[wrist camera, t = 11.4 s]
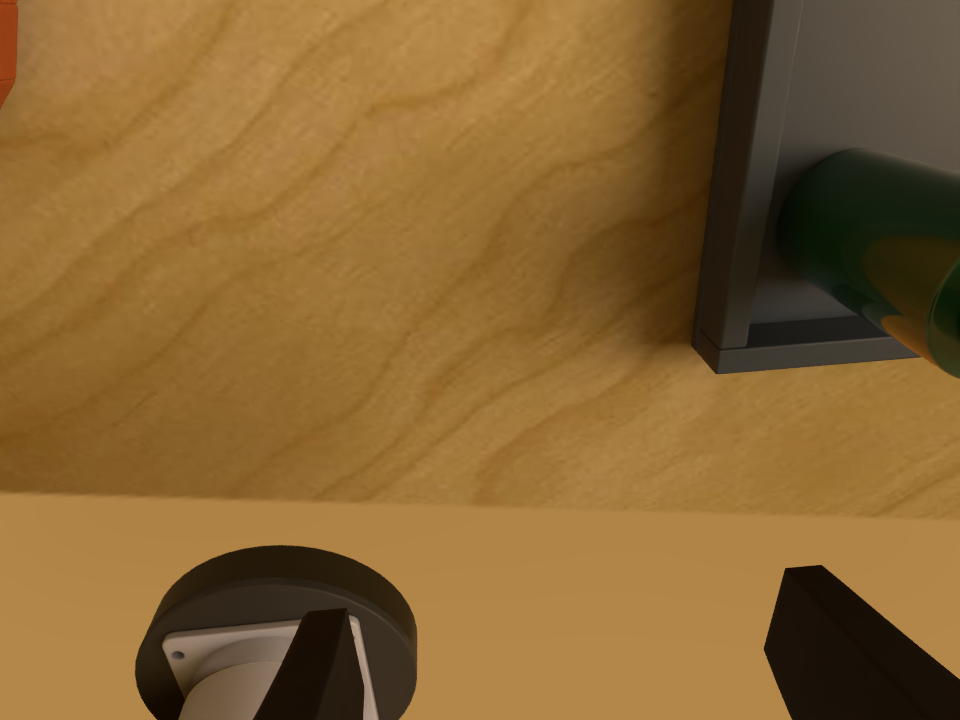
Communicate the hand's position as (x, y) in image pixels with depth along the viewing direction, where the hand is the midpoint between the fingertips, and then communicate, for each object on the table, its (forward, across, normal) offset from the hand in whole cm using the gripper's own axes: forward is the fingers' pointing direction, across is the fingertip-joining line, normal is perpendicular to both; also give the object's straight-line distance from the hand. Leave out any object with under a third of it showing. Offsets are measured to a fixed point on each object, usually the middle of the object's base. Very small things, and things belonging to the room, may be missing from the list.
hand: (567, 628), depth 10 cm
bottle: (+10, -10, -4) cm, 14 cm away
